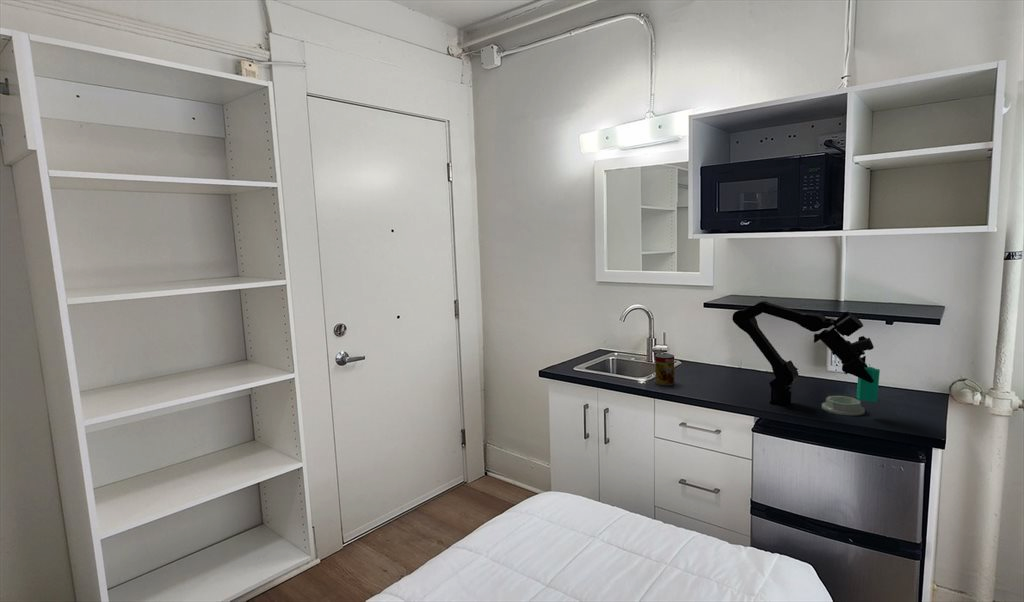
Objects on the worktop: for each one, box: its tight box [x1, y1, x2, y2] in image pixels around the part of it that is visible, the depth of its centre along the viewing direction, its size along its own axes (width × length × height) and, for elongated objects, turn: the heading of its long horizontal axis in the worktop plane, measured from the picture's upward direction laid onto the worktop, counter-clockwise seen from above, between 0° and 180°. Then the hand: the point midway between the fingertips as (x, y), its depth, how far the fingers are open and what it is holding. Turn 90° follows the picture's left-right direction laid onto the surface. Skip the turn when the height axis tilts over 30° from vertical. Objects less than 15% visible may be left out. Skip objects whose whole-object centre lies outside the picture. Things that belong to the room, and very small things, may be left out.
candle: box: [856, 363, 881, 402], centre depth 181 cm, size 6×6×12 cm
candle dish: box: [821, 395, 866, 417], centre depth 190 cm, size 13×13×4 cm
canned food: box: [654, 353, 675, 386], centre depth 231 cm, size 8×8×12 cm
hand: (873, 380), depth 180 cm, fingers closed on candle, 5 cm apart
